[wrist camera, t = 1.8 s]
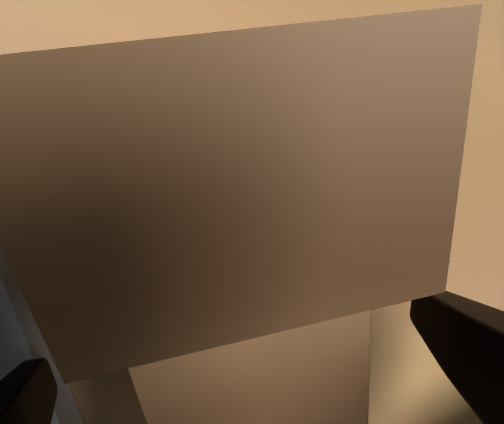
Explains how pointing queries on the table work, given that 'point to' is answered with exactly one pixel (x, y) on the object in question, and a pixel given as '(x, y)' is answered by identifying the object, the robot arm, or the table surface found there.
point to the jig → (28, 342)
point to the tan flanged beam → (235, 205)
